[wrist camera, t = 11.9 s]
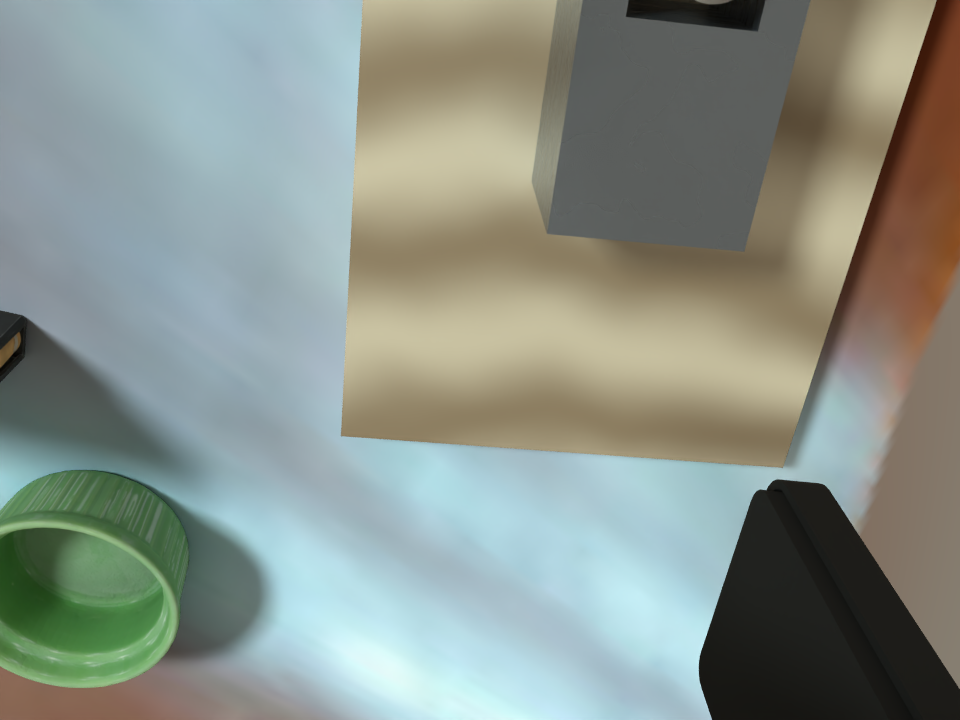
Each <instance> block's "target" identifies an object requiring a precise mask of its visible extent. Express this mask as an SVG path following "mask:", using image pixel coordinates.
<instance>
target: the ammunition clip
mask: <svg viewBox="0 0 960 720" xmlns="http://www.w3.org/2000/svg"><path fill="white" fill-rule="evenodd" d="M25 336H26V319H25V318H24V317H23V316H22V315H18V314H14V313H9V312H5V311H0V382H1V381H2V380H3V379H4V378H5V377H6V376H7V375H8V374H9V373H10V372H11V371H12V370H13V369H14V368H15V366H16V365H17V364H18V363H19V362H20V361H21V360H22V359H23V358H24V352H25Z"/></svg>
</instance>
